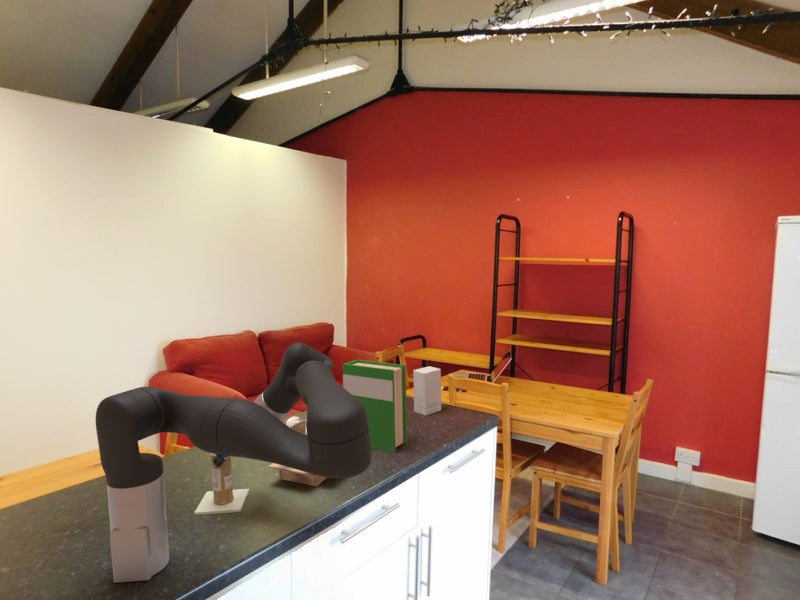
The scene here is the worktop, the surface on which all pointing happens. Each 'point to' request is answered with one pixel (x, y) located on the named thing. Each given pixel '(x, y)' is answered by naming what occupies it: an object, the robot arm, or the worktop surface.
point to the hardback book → (380, 400)
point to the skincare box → (427, 390)
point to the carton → (295, 474)
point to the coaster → (233, 506)
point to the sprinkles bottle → (222, 481)
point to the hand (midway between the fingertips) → (229, 457)
